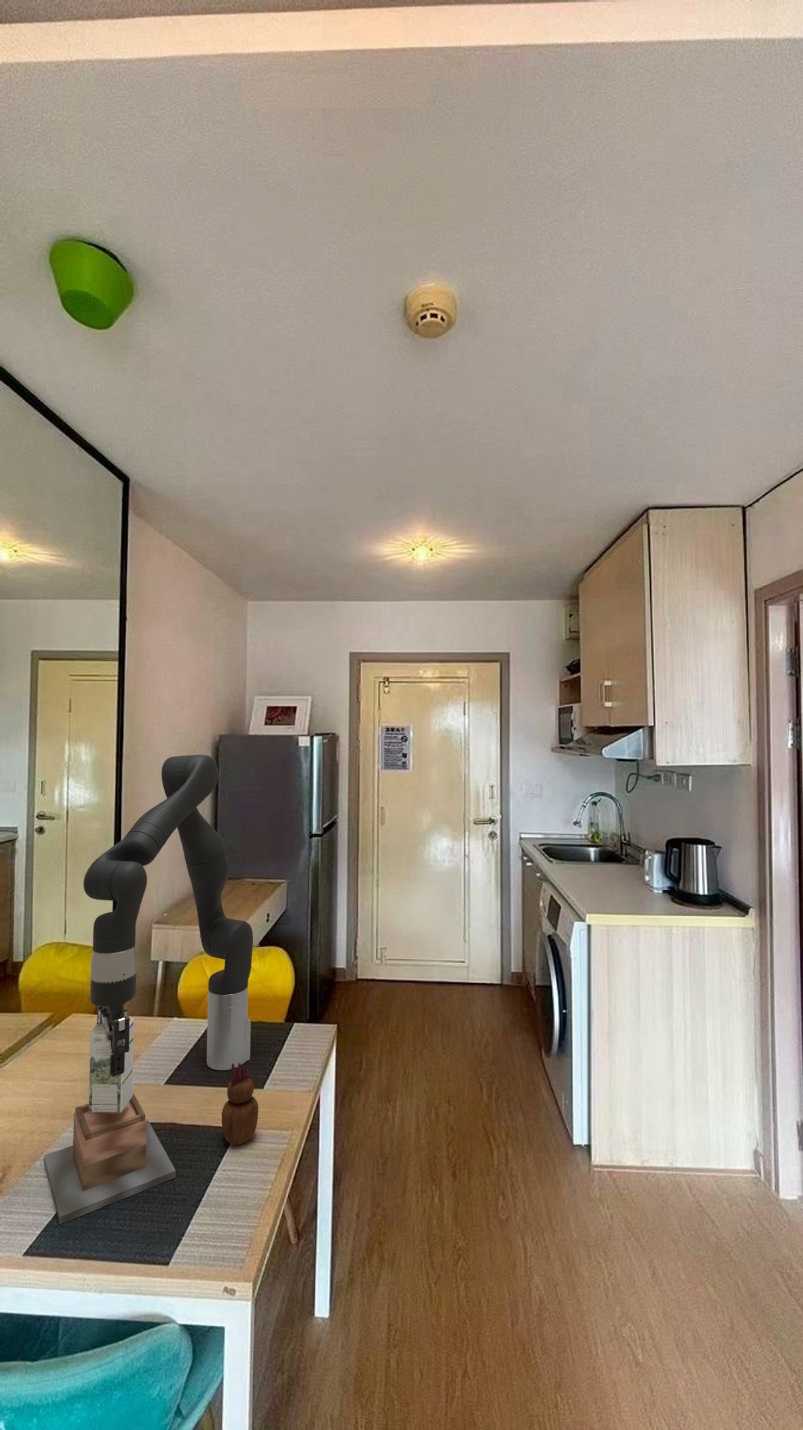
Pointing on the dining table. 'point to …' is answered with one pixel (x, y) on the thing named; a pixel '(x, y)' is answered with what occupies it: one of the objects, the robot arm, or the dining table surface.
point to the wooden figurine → (240, 1108)
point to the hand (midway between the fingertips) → (111, 1064)
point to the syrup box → (104, 1088)
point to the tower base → (105, 1191)
